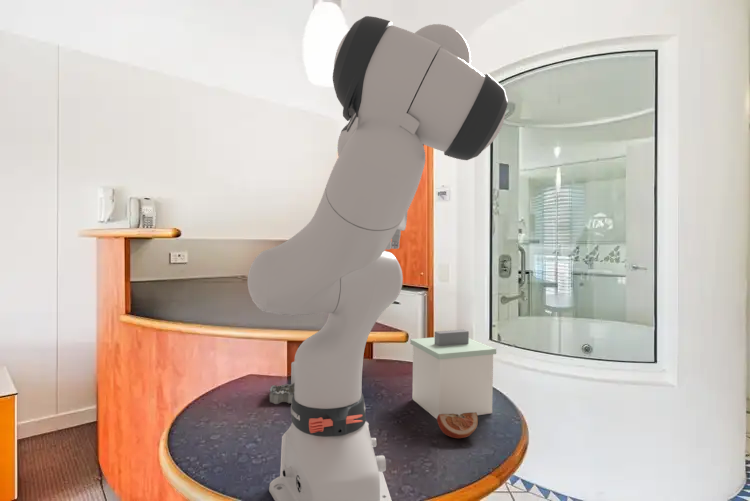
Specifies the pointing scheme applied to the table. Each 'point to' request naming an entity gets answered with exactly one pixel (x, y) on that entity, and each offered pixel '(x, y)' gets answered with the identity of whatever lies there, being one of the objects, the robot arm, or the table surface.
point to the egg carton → (281, 393)
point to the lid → (452, 345)
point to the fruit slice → (458, 424)
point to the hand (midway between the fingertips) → (391, 249)
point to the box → (452, 383)
